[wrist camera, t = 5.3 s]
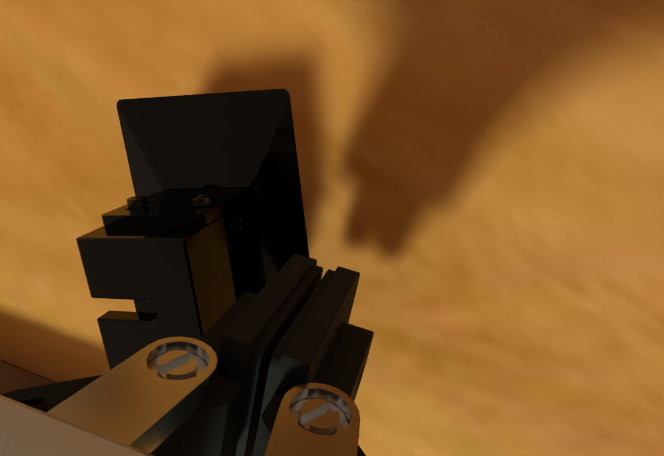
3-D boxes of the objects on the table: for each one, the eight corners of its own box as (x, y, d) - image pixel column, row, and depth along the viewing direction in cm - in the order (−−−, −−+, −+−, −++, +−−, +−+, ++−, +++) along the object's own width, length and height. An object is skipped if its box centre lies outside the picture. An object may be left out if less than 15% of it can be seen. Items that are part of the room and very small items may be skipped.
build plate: (98, 49, 15) (-54, 42, 11) (329, 19, 13) (256, -4, 9) (172, 399, 18) (81, 499, 14) (362, 420, 16) (323, 544, 12)
